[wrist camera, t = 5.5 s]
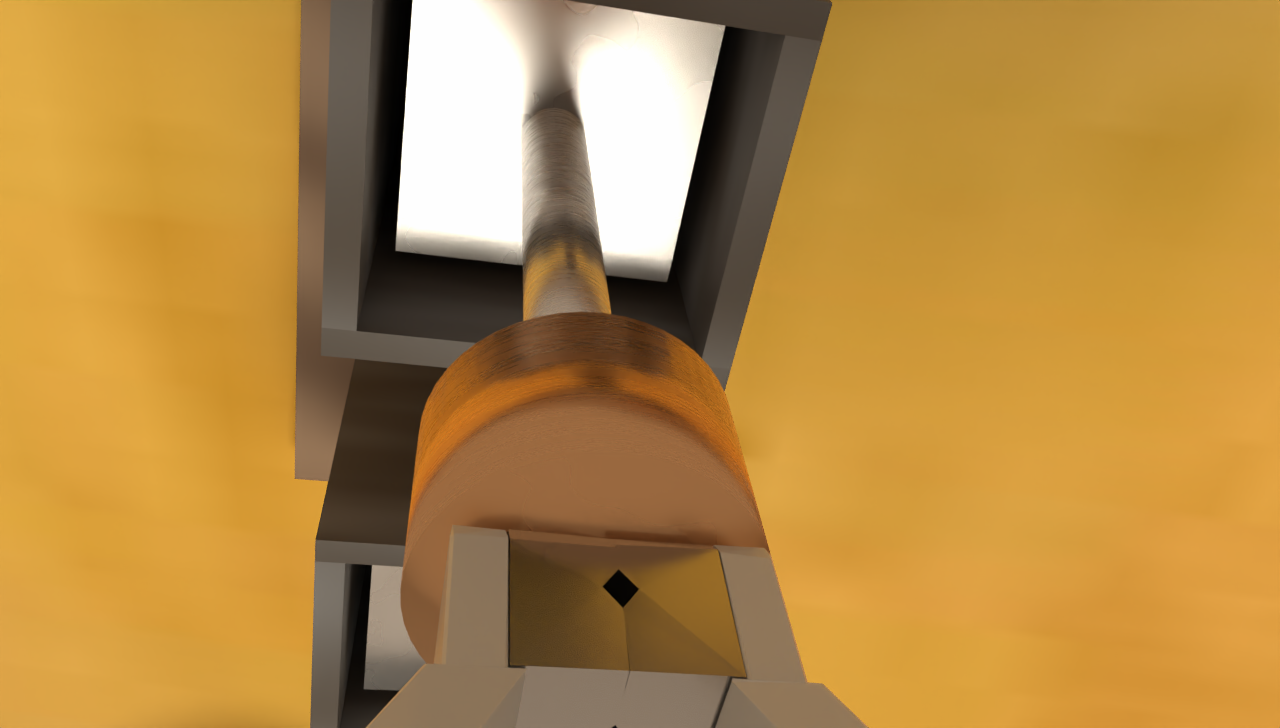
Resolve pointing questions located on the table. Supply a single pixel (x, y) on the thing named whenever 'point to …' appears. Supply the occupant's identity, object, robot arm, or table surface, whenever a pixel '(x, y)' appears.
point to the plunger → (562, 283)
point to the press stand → (481, 278)
